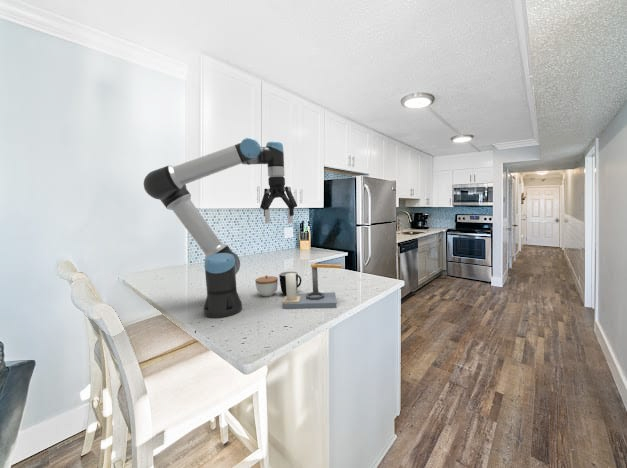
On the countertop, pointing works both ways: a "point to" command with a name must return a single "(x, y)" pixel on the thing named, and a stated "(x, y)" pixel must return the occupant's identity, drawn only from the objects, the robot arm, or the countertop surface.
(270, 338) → the countertop surface
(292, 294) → the white cylinder
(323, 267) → the clip
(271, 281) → the lidded jar
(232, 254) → the robot arm
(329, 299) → the grey base with post
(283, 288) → the mug
